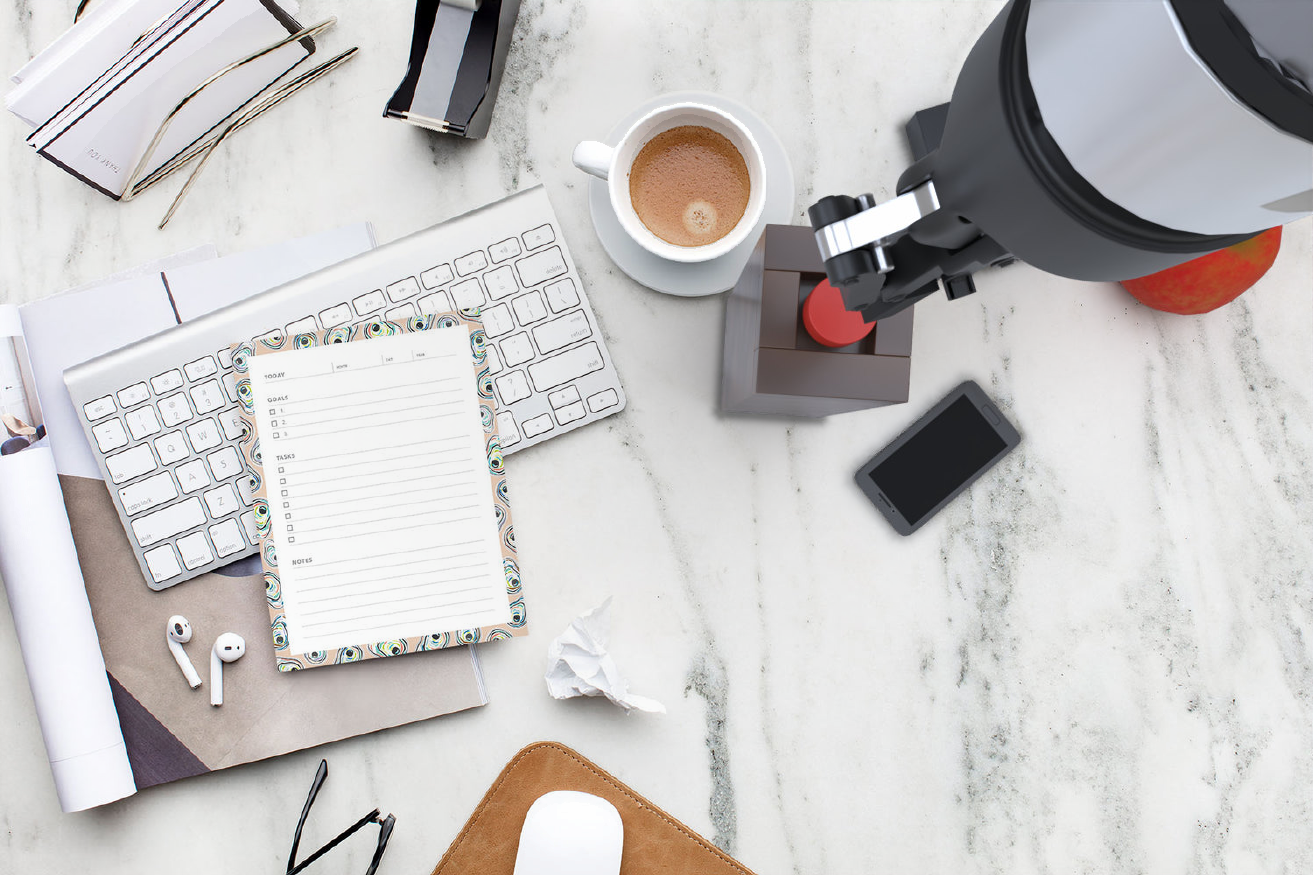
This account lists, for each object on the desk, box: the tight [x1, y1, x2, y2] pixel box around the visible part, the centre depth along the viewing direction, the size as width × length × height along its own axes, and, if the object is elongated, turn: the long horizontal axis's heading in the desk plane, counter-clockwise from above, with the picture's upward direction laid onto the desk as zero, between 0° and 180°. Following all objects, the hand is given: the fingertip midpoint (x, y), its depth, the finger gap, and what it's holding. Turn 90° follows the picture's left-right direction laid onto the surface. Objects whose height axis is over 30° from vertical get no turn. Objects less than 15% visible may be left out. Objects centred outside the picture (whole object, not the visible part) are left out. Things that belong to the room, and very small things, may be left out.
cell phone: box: [854, 379, 1022, 537], centre depth 69 cm, size 7×14×1 cm, turn 130°
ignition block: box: [720, 223, 915, 418], centre depth 58 cm, size 10×9×24 cm
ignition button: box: [803, 278, 876, 348], centre depth 45 cm, size 4×4×2 cm
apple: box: [1119, 225, 1284, 316], centre depth 64 cm, size 11×11×11 cm
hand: (870, 294), depth 39 cm, fingers closed
